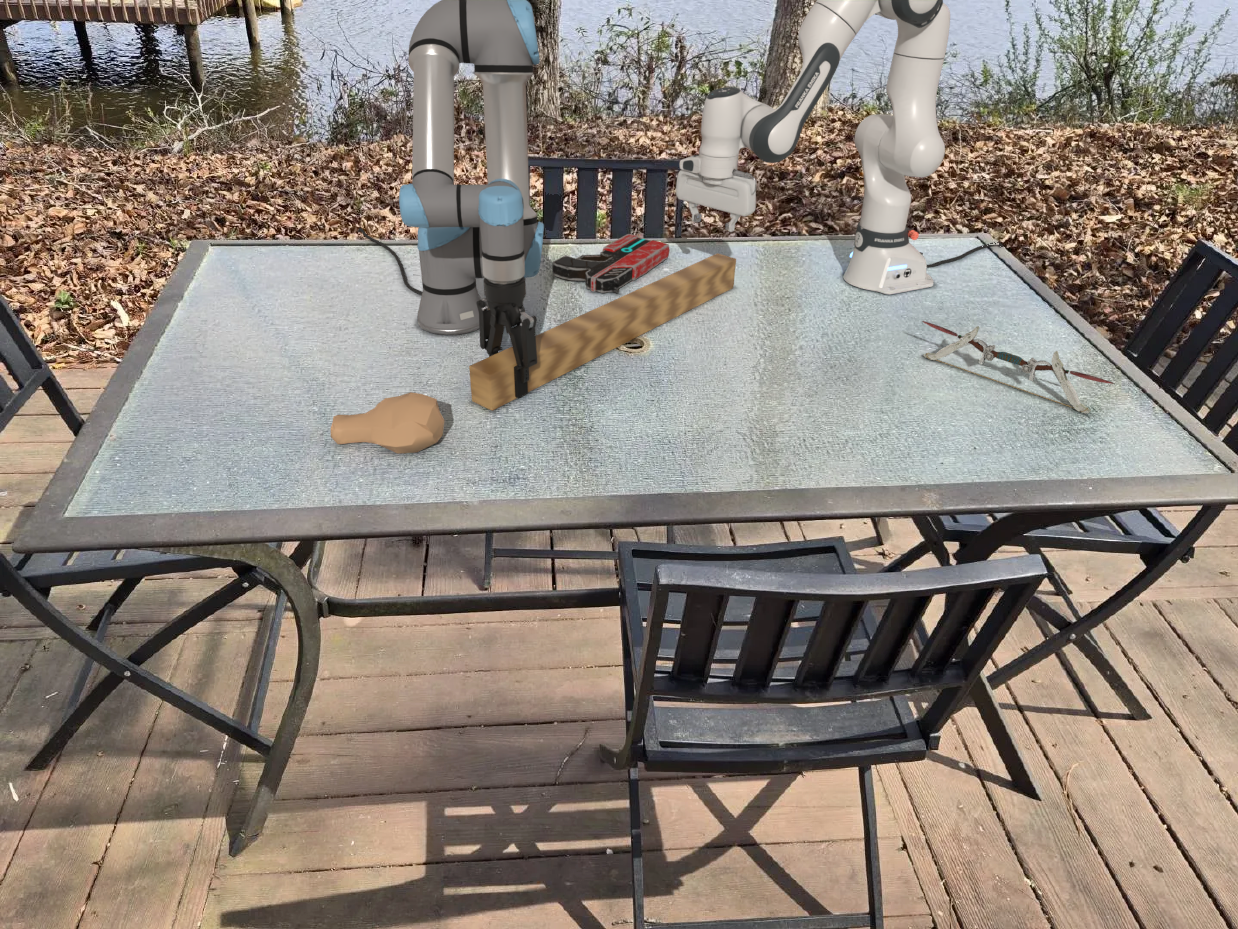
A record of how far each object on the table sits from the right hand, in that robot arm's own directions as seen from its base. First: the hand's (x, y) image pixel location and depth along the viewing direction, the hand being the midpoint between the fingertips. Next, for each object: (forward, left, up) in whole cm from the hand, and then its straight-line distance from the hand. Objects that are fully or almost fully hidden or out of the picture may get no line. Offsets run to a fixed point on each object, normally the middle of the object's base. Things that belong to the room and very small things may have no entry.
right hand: (712, 226), depth 205 cm
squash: (+77, +54, -17) cm, 96 cm away
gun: (+19, -19, -17) cm, 32 cm away
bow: (-44, +56, -17) cm, 73 cm away
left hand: (+54, +39, -16) cm, 69 cm away
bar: (+27, +20, -17) cm, 37 cm away
